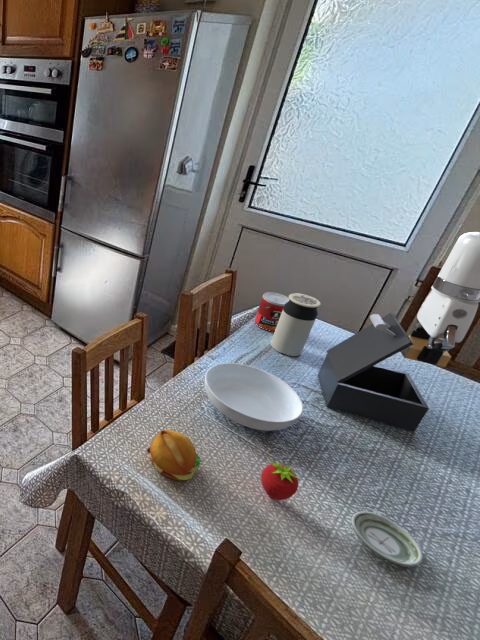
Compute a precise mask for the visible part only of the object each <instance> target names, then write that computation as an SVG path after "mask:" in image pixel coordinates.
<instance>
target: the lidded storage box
mask: <svg viewBox="0 0 480 640" xmlns="http://www.w3.org/2000/svg"><path fill="white" fill-rule="evenodd" d="M317 379H318V383H319V386H320V389H321V393H322V396H323V399H324V403H325V406H326V408H328V409H331V410H335V411H339V412H342V413H345V414H348V415H352V416H355V417H358V418H363V419H366V420H370V421H372V422H376V423H381V424H384V425H386V426H390V427H393V428H397V429H400V430H404V431H408V432H410V433H415V432H416V430H417V428H418V427H419V425H420V423H421V422H422V421H423V419H424V417H425V416H426V414H427V413H428V411H429V410H430V407H429V406H428V404H427V402H426V400H425V399H424V397H423V396H422V394H421V392H420V390H419V389H418V387H417V385H416V383H415V382H414V379H413V378H412V376H411V375H410V373H409V372H406V371H402V370H398V369H395V368H389V367H385V366H382V365H378V364H376V365H374V366H372V367H370V368H368V369H366V370H364V371H363V372H361V373H359V374H357V375H355V376H353V377H351V378H350V379H348V380H346V381H344V382H342V383H338V382H337V380H336V377H335V374H334V371H333V368H332V365H331V362H330V359H329V356H328V354H327V353H326V355H325V357H324V360H323V363H322V364H321V366H320V368H319V371H318V373H317Z"/></svg>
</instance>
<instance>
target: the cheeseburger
mask: <svg viewBox="0 0 480 640" xmlns="http://www.w3.org/2000/svg"><path fill="white" fill-rule="evenodd" d="M193 443H194V442H193V441H192V440H191V439H190V438H189V437H188V436H187V435H186V434H184V433H182V432H180V431H176V430H174V429H164V430H160V431H159V432H158V433H157V434H156V435H154V437H153V438H152V440H151V442H150V444H149V447H148V448H147V449H146V452H147V453H148V455H149V457H150V458H149V459H150V462H151V464H152V465H153V467H154V469H156V470H157V471H158V472H159V473H160V474H162V475H163V476H165V477H166V478H169V479H171V480H174V481H175V480H176V481H180V482H181V481H187V480H190V479H192V478H193V476H194V474H195V472H196V471H197V470H198V469H199V466H200V465H201V463H202V462H203V461H202V458H201V457H200V456H199V455H198V453H197V450H196V447H195V445H194V444H193Z"/></svg>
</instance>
